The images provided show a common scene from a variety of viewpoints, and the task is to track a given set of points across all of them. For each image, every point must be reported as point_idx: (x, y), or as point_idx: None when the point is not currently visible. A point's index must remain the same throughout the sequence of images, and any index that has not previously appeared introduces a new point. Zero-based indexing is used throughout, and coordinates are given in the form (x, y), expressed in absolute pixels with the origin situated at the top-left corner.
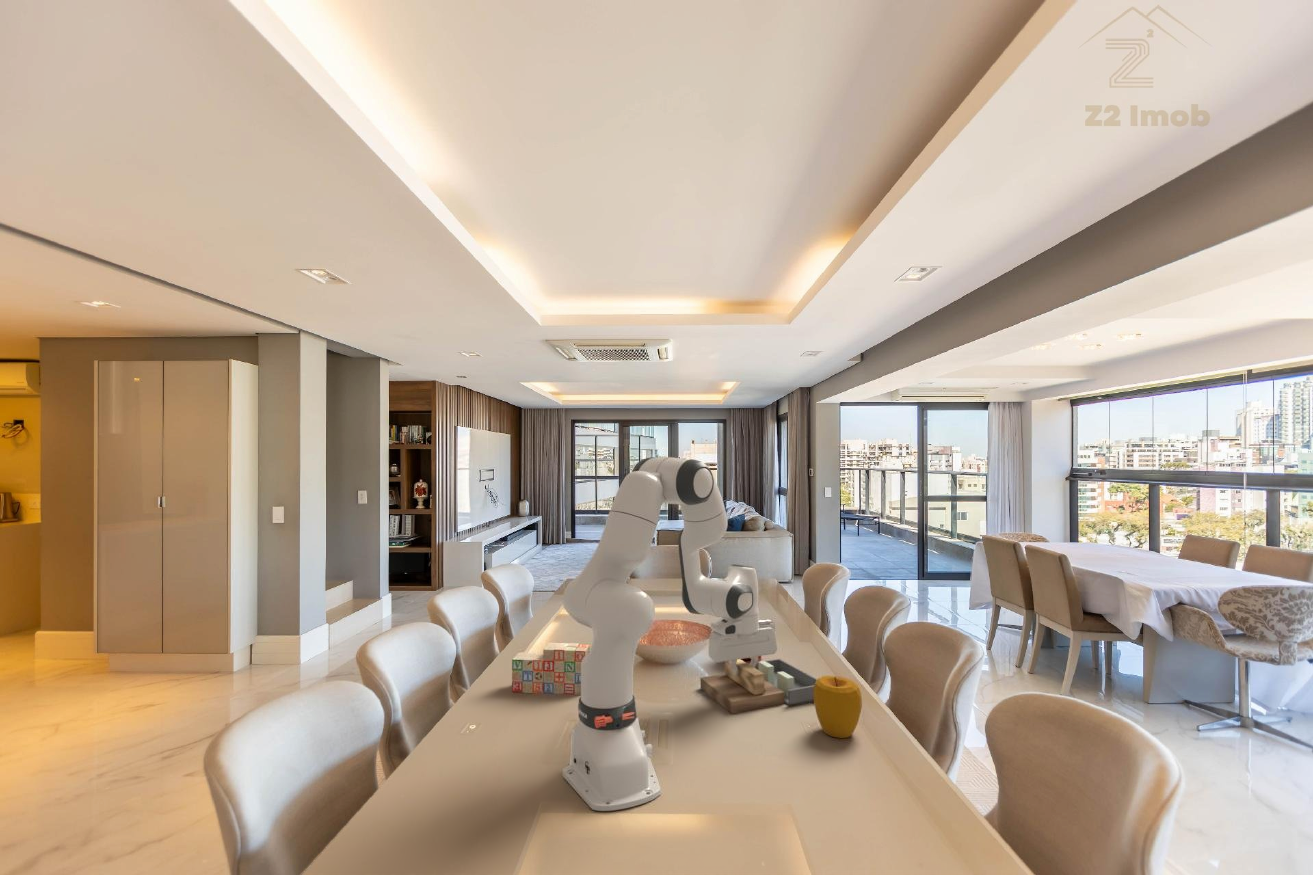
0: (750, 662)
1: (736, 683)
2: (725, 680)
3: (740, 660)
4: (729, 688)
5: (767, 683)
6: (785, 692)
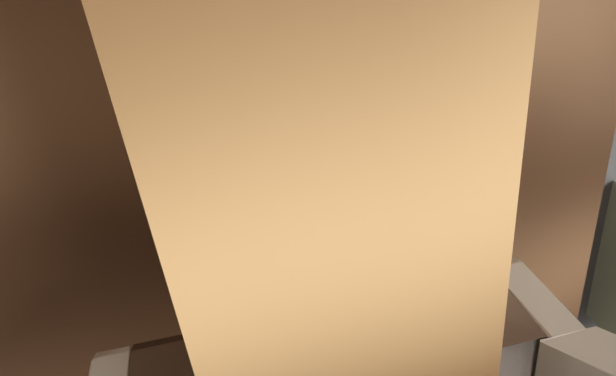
0: (595, 371)
1: None
2: (24, 38)
3: (459, 212)
4: (30, 331)
5: (559, 253)
6: (609, 302)
